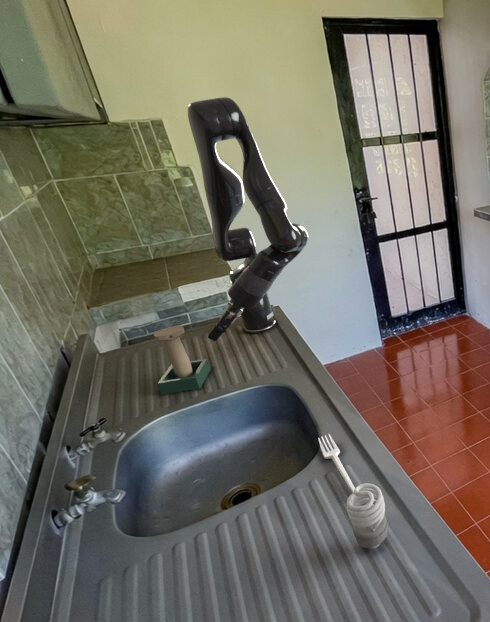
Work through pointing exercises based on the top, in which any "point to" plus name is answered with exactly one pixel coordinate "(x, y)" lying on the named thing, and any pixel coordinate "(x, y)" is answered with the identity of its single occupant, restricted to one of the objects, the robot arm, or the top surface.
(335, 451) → the fork
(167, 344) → the handle
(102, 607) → the top surface
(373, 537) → the light bulb
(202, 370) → the socket
